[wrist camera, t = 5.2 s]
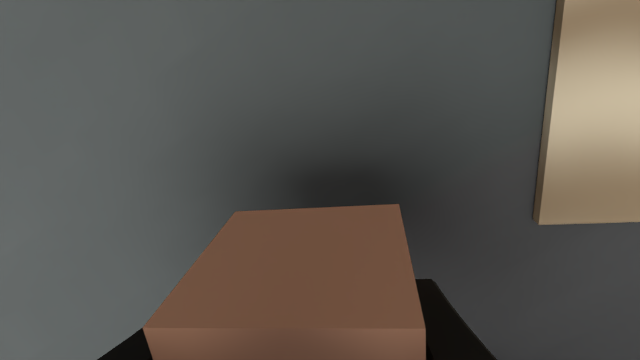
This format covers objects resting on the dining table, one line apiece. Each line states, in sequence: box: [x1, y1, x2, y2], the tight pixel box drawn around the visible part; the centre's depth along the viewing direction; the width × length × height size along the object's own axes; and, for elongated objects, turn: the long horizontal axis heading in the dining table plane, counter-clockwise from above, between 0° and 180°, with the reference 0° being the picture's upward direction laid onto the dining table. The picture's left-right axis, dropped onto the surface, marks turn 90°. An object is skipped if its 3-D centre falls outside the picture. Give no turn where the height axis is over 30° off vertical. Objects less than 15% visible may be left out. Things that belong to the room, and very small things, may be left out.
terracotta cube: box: [143, 204, 426, 360], centre depth 8 cm, size 4×4×4 cm
